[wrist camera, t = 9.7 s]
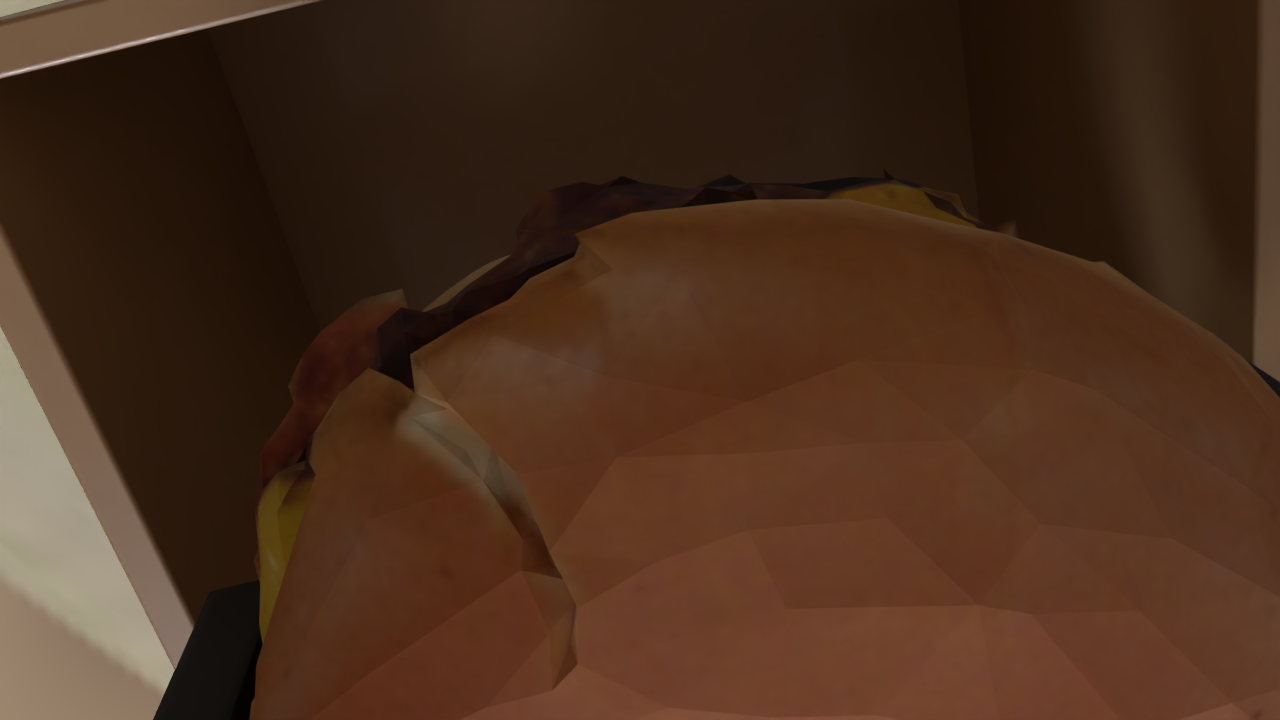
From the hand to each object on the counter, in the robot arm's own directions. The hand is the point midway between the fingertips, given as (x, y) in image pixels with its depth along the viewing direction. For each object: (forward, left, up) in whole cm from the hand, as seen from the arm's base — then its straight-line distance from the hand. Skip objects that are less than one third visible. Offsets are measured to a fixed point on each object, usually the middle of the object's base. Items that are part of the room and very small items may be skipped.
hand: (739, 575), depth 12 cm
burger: (0, 0, 0) cm, 0 cm away
